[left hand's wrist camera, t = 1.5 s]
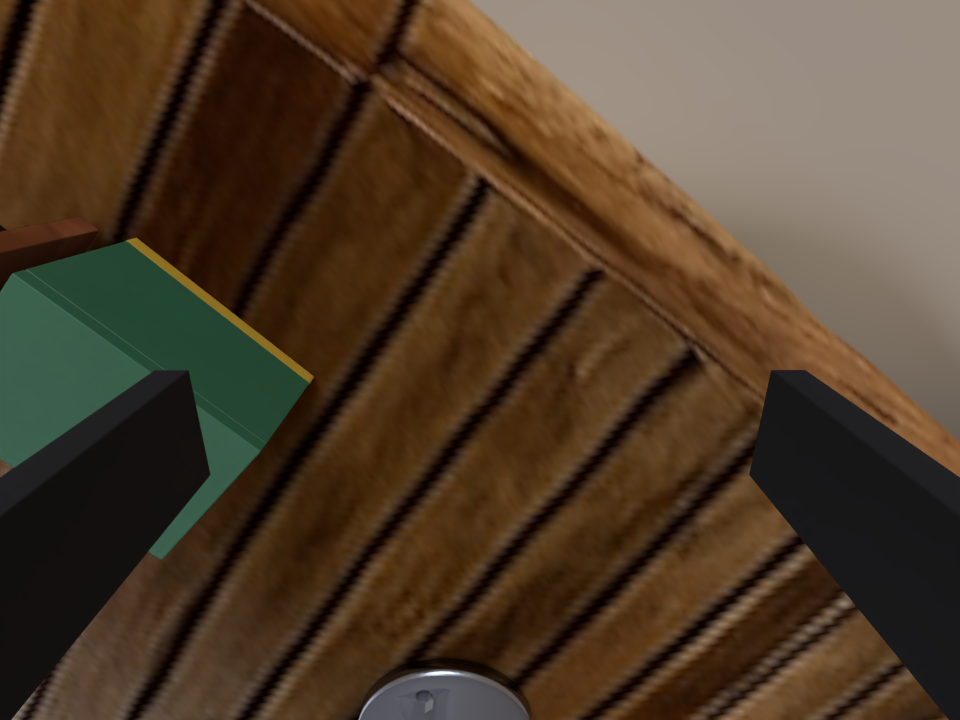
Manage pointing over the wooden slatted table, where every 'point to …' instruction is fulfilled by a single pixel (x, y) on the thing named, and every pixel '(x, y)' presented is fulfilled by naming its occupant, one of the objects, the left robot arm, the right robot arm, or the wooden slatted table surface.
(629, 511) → the wooden slatted table surface
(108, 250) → the cabinet
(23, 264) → the drawer
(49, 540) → the left robot arm
